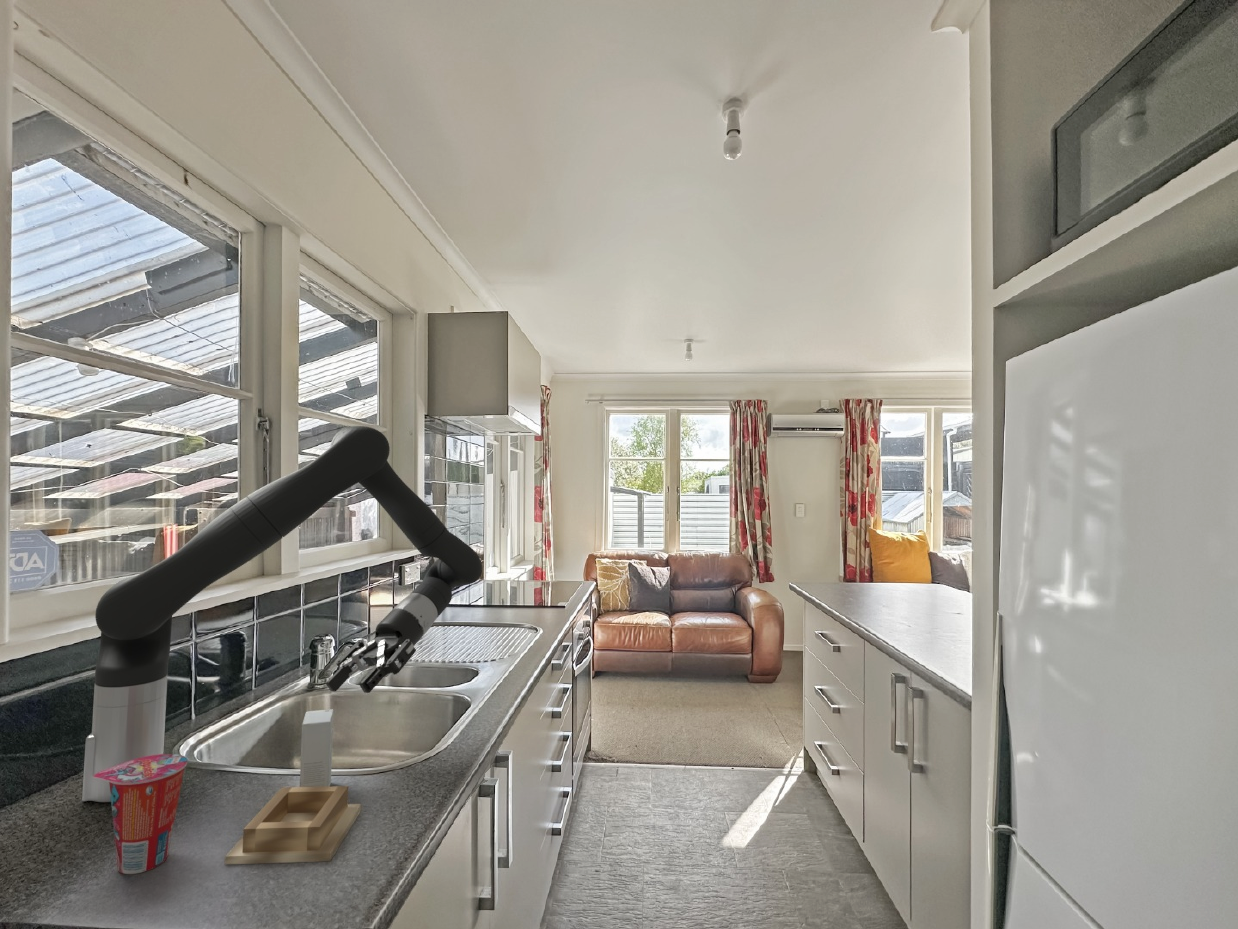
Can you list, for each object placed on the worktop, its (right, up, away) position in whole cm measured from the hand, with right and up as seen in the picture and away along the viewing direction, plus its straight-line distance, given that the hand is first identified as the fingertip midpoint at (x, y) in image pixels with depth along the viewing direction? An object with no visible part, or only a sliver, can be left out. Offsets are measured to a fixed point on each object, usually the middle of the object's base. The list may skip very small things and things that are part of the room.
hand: (346, 688), depth 105 cm
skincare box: (-3, -15, -5) cm, 16 cm away
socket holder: (+1, -14, -17) cm, 22 cm away
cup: (-16, -14, -25) cm, 32 cm away
